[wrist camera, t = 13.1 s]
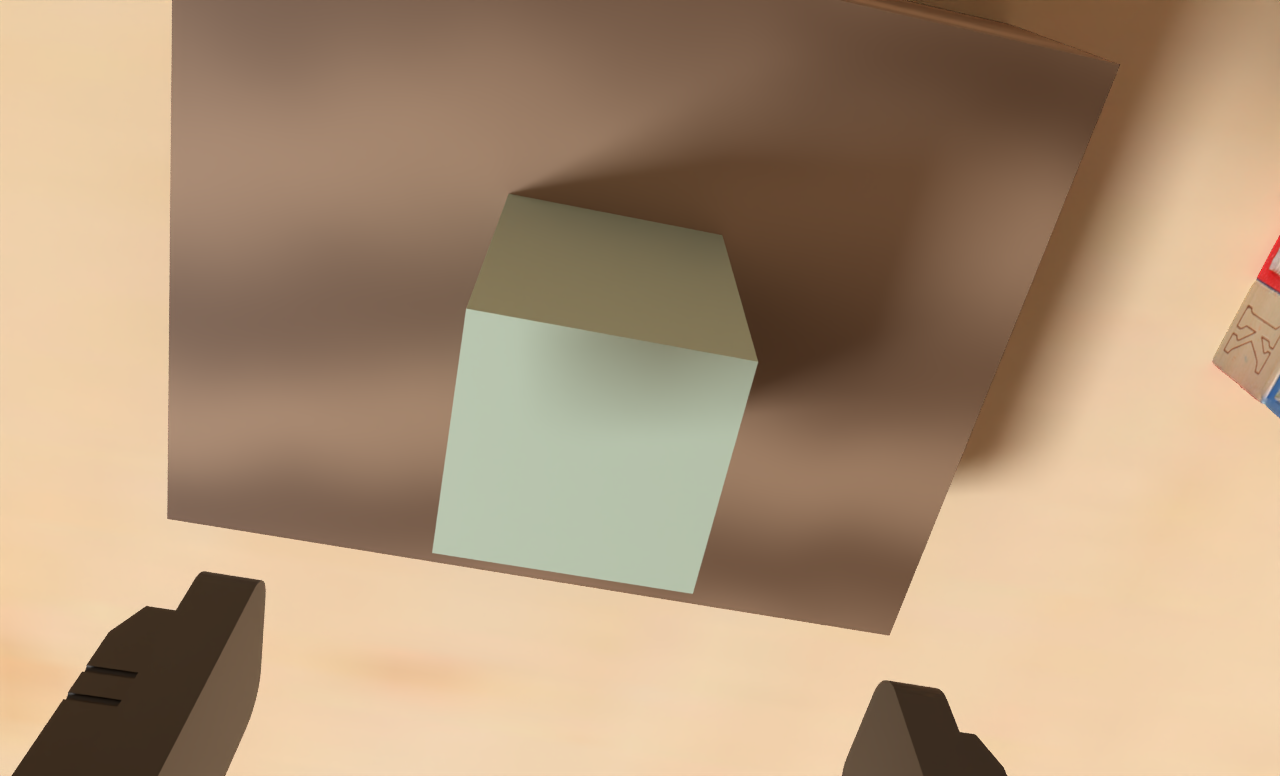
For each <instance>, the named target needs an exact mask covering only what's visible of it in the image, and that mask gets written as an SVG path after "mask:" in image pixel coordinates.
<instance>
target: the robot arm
mask: <svg viewBox="0 0 1280 776" xmlns="http://www.w3.org/2000/svg"><path fill="white" fill-rule="evenodd" d="M265 592H266V591H265V583H264V581H262V580H255V579H249V578H243V577H236V576H230V575H224V574H217V573H211V572H201V573H200V574H199V575H198V576H197V577H196V578H195V580H194V582H193V583H192V585H191V586H190V588H189V590H188V591H187V593H186V595H185V596H184V598H183V600H182V601H181V603H180V605H179V606H178V608H177V610H176V611H175V610H169V609H162V608H155V607H149V606H146V607H144V608H143V609H141V610H140V611H138V612H137V613H136V614H134V615H133V616H131V617H130V618H128V619H127V620H126V621H124V622H123V623H121V624H120V625H118V626H117V627H116V628H114V629H113V630H111V631H110V632H109V633H108V634H107V636H106V637H105V639H104V640H103V642H102V643H101V645H100V646H99V648H98V649H97V651H96V652H95V654H94V655H93V656H92V658H91V659H90V661H89V662H88V664H87V667H86V670H85V672H82V673H81V674H80V676H79V677H78V679H77V680H76V682H75V683H74V684H73V686H72V687H71V689H70V690H69V692H68V696H67V699H66V700H65V699H63V701H62V702H61V704H60V705H59V707H58V708H57V710H56V711H55V713H54V714H53V715H52V717H51V718H50V720H49V721H48V723H47V724H46V726H45V727H44V729H43V730H42V732H41V733H40V735H39V736H38V738H37V739H36V741H35V742H34V743H33V745H32V746H31V748H30V749H29V751H28V752H27V754H26V755H25V757H24V758H23V760H22V761H21V763H20V764H19V766H18V767H17V769H16V770H15V772H14V773H13V774H12V776H225V775H226V772H227V770H228V768H229V766H230V763H231V761H232V759H233V757H234V754H235V752H236V750H237V748H238V745H239V743H240V741H241V738H242V736H243V734H244V732H245V729H246V727H247V725H248V722H249V720H250V717H251V714H252V711H253V707H254V704H255V700H256V696H257V692H258V687H259V681H260V674H261V659H262V643H263V627H264V610H265ZM842 776H1007V774H1006V772H1005V770H1004V767H1003V766H1002V765H1001V764H1000V763H999V762H998V760H997V759H996V758H995V757H994V756H993V754H992V753H991V752H990V751H989V750H988V749H987V747H986V746H985V745H984V744H983V743H982V741H981V740H980V739H979V738H978V737H977V736H976V735H975V734H969V733H962V732H959V729H958V727H957V724H956V722H955V719H954V717H953V714H952V711H951V709H950V706H949V704H948V701H947V699H946V697H945V695H944V693H943V692H942V691H941V690H940V689H937V688H931V687H925V686H919V685H912V684H906V683H900V682H893V681H887V680H885V681H882V682H881V683H880V684H879V685H878V686H877V688H876V689H875V692H874V694H873V696H872V699H871V701H870V703H869V706H868V708H867V711H866V713H865V715H864V718H863V720H862V723H861V725H860V727H859V730H858V732H857V735H856V737H855V739H854V742H853V744H852V747H851V749H850V751H849V754H848V756H847V759H846V762H845V765H844V768H843V774H842Z"/></svg>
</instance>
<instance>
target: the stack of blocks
mask: <svg viewBox="0 0 1280 776" xmlns="http://www.w3.org/2000/svg"><path fill="white" fill-rule="evenodd" d="M1213 363H1214V364H1215V366H1216V367H1218V368H1219V369H1220V370H1221V371H1222V372H1224V373H1225V374H1226V375H1227V376H1229V377H1230V378H1231V379H1232V380H1234V381H1235V382H1236V383H1237V384H1239V385H1240V387H1241V388H1243V389H1244V390H1246V391H1247V392H1248V393H1249V394H1250V395H1251V396H1252V397H1254V398H1255V399H1256V400H1258V401H1260V402H1261V403H1262V404H1265V405H1266V406H1267V407H1268V408H1269V409H1270V410H1271V411H1272V412H1273V413H1274V414H1276V415H1277V416H1278V417H1279V418H1280V236H1279V237H1278V239H1277V241H1276V243H1275V245H1274V247H1273V249H1272V250H1271V252H1270V254H1269V256H1268V258H1267V260H1266V262H1265V264H1264V266H1263V267H1262V269H1261V271H1260V273H1259V275H1258V277H1257V280H1256V281H1255V282H1254V284H1253V285H1252V286H1251V288H1250V290H1249V292H1248V294H1247V296H1246V298H1245V299H1244V301H1243V303H1242V305H1241V307H1240V309H1239V311H1238V312H1237V314H1236V316H1235V318H1234V320H1233V322H1232V324H1231V325H1230V327H1229V329H1228V331H1227V333H1226V335H1225V337H1224V339H1223V340H1222V342H1221V344H1220V346H1219V348H1218V350H1217V352H1216V354H1215V356H1214V358H1213Z"/></svg>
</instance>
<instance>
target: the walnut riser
mask: <svg viewBox="0 0 1280 776" xmlns="http://www.w3.org/2000/svg"><path fill="white" fill-rule="evenodd" d="M1119 66H1120V64H1117V63H1114V62H1112V61H1109V60H1106V59H1103V58H1101V57H1098V56H1095V55H1092V54H1090V53H1087V52H1084V51H1081V50H1079V49H1076V48H1073V47H1070V46H1068V45H1065V44H1062V43H1059V42H1057V41H1054V40H1051V39H1048V38H1046V37H1043V36H1040V35H1037V34H1034V33H1032V32H1029V31H1026V30H1023V29H1021V28H1018V27H1015V26H1012V25H1009V24H1005V23H1001V22H996V21H992V20H988V19H983V18H979V17H975V16H970V15H966V14H962V13H957V12H953V11H949V10H944V9H940V8H936V7H931V6H927V5H923V4H918V3H914V2H910V1H905V0H172V81H171V189H170V297H169V405H168V513H167V519H172V520H178V521H184V522H191V523H197V524H203V525H209V526H215V527H222V528H228V529H234V530H240V531H246V532H252V533H259V534H265V535H271V536H277V537H283V538H290V539H296V540H302V541H308V542H314V543H320V544H327V545H333V546H339V547H345V548H351V549H358V550H364V551H370V552H376V553H382V554H388V555H395V556H401V557H407V558H413V559H419V560H426V561H432V562H438V563H444V564H450V565H457V566H463V567H469V568H475V569H481V570H487V571H494V572H500V573H506V574H512V575H518V576H525V577H531V578H537V579H543V580H549V581H555V582H562V583H568V584H574V585H580V586H586V587H593V588H599V589H605V590H611V591H617V592H624V593H630V594H636V595H642V596H648V597H654V598H661V599H667V600H673V601H679V602H685V603H692V604H698V605H704V606H710V607H716V608H722V609H729V610H735V611H741V612H747V613H753V614H760V615H766V616H772V617H778V618H784V619H791V620H797V621H803V622H809V623H815V624H821V625H828V626H834V627H840V628H846V629H852V630H859V631H865V632H871V633H877V634H883V635H890V633H891V630H892V628H893V625H894V623H895V620H896V618H897V615H898V613H899V610H900V608H901V605H902V603H903V600H904V598H905V596H906V593H907V591H908V588H909V586H910V583H911V581H912V578H913V576H914V573H915V571H916V568H917V566H918V563H919V561H920V558H921V556H922V553H923V551H924V549H925V546H926V544H927V541H928V539H929V536H930V534H931V531H932V529H933V526H934V524H935V521H936V519H937V516H938V514H939V511H940V509H941V506H942V504H943V501H944V499H945V497H946V494H947V492H948V489H949V487H950V484H951V482H952V479H953V477H954V474H955V472H956V469H957V467H958V464H959V462H960V459H961V457H962V454H963V452H964V450H965V447H966V445H967V442H968V440H969V437H970V435H971V432H972V430H973V427H974V425H975V422H976V420H977V417H978V415H979V412H980V410H981V407H982V405H983V403H984V400H985V398H986V395H987V393H988V390H989V388H990V385H991V383H992V380H993V378H994V375H995V373H996V370H997V368H998V365H999V363H1000V360H1001V358H1002V355H1003V353H1004V351H1005V348H1006V346H1007V343H1008V341H1009V338H1010V336H1011V333H1012V331H1013V328H1014V326H1015V323H1016V321H1017V318H1018V316H1019V313H1020V311H1021V308H1022V306H1023V304H1024V301H1025V299H1026V296H1027V294H1028V291H1029V289H1030V286H1031V284H1032V281H1033V279H1034V276H1035V274H1036V271H1037V269H1038V266H1039V264H1040V261H1041V259H1042V257H1043V254H1044V252H1045V249H1046V247H1047V244H1048V242H1049V239H1050V237H1051V234H1052V232H1053V229H1054V227H1055V224H1056V222H1057V219H1058V217H1059V214H1060V212H1061V210H1062V207H1063V205H1064V202H1065V200H1066V197H1067V195H1068V192H1069V190H1070V187H1071V185H1072V182H1073V180H1074V177H1075V175H1076V172H1077V170H1078V167H1079V165H1080V162H1081V160H1082V158H1083V155H1084V153H1085V150H1086V148H1087V145H1088V143H1089V140H1090V138H1091V135H1092V133H1093V130H1094V128H1095V125H1096V123H1097V120H1098V118H1099V115H1100V113H1101V111H1102V108H1103V106H1104V103H1105V101H1106V98H1107V96H1108V93H1109V91H1110V88H1111V86H1112V83H1113V81H1114V78H1115V76H1116V73H1117V71H1118V68H1119ZM508 194H513V195H518V196H523V197H529V198H534V199H539V200H544V201H549V202H554V203H559V204H565V205H570V206H575V207H580V208H585V209H590V210H595V211H601V212H606V213H611V214H616V215H621V216H626V217H631V218H637V219H642V220H647V221H652V222H657V223H662V224H667V225H673V226H678V227H683V228H688V229H693V230H698V231H703V232H709V233H714V234H719V235H722V236H723V239H724V243H725V246H726V250H727V253H728V257H729V260H730V264H731V267H732V271H733V275H734V278H735V282H736V285H737V289H738V292H739V296H740V299H741V303H742V306H743V310H744V313H745V317H746V321H747V324H748V328H749V331H750V335H751V338H752V342H753V345H754V349H755V352H756V356H757V359H758V364H757V368H756V371H755V375H754V378H753V382H752V385H751V389H750V393H749V396H748V400H747V403H746V407H745V410H744V414H743V417H742V421H741V424H740V428H739V432H738V435H737V439H736V442H735V446H734V449H733V453H732V456H731V460H730V464H729V467H728V471H727V474H726V478H725V481H724V485H723V488H722V492H721V495H720V499H719V503H718V506H717V510H716V513H715V517H714V520H713V524H712V527H711V531H710V535H709V538H708V542H707V545H706V549H705V552H704V556H703V559H702V563H701V567H700V570H699V574H698V577H697V581H696V584H695V588H694V591H693V594H691V593H684V592H678V591H671V590H665V589H659V588H652V587H646V586H640V585H633V584H627V583H621V582H614V581H608V580H601V579H595V578H589V577H582V576H576V575H570V574H563V573H557V572H551V571H544V570H538V569H531V568H525V567H519V566H512V565H506V564H500V563H493V562H487V561H480V560H474V559H468V558H461V557H455V556H449V555H442V554H436V553H432V550H433V543H434V536H435V529H436V522H437V514H438V507H439V500H440V493H441V486H442V479H443V471H444V464H445V457H446V450H447V443H448V435H449V428H450V421H451V414H452V407H453V400H454V392H455V385H456V378H457V371H458V364H459V356H460V349H461V342H462V335H463V328H464V321H465V313H466V308H467V305H468V302H469V300H470V297H471V294H472V291H473V289H474V286H475V283H476V281H477V278H478V275H479V273H480V270H481V267H482V264H483V262H484V259H485V256H486V254H487V251H488V248H489V246H490V243H491V240H492V237H493V235H494V232H495V229H496V227H497V224H498V221H499V219H500V216H501V213H502V210H503V208H504V205H505V202H506V200H507V197H508Z"/></svg>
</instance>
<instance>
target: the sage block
mask: <svg viewBox="0 0 1280 776" xmlns="http://www.w3.org/2000/svg"><path fill="white" fill-rule="evenodd" d="M757 364H758V359H757V356H756V352H755V349H754V345H753V342H752V338H751V335H750V331H749V328H748V324H747V321H746V317H745V313H744V310H743V306H742V303H741V299H740V296H739V292H738V289H737V285H736V282H735V278H734V275H733V271H732V267H731V264H730V260H729V257H728V253H727V250H726V246H725V243H724V239H723V236H722V235H719V234H714V233H709V232H703V231H698V230H693V229H688V228H683V227H678V226H673V225H667V224H662V223H657V222H652V221H647V220H642V219H637V218H631V217H626V216H621V215H616V214H611V213H606V212H601V211H595V210H590V209H585V208H580V207H575V206H570V205H565V204H559V203H554V202H549V201H544V200H539V199H534V198H529V197H523V196H518V195H513V194H508V197H507V200H506V202H505V205H504V208H503V210H502V213H501V216H500V219H499V221H498V224H497V227H496V229H495V232H494V235H493V237H492V240H491V243H490V246H489V248H488V251H487V254H486V256H485V259H484V262H483V264H482V267H481V270H480V273H479V275H478V278H477V281H476V283H475V286H474V289H473V291H472V294H471V297H470V300H469V302H468V305H467V308H466V313H465V321H464V328H463V335H462V342H461V349H460V356H459V364H458V371H457V378H456V385H455V392H454V400H453V407H452V414H451V421H450V428H449V435H448V443H447V450H446V457H445V464H444V471H443V479H442V486H441V493H440V500H439V507H438V514H437V522H436V529H435V536H434V543H433V550H432V553H436V554H442V555H449V556H455V557H461V558H468V559H474V560H480V561H487V562H493V563H500V564H506V565H512V566H519V567H525V568H531V569H538V570H544V571H551V572H557V573H563V574H570V575H576V576H582V577H589V578H595V579H601V580H608V581H614V582H621V583H627V584H633V585H640V586H646V587H652V588H659V589H665V590H671V591H678V592H684V593H691V594H693V591H694V588H695V584H696V581H697V577H698V574H699V570H700V567H701V563H702V559H703V556H704V552H705V549H706V545H707V542H708V538H709V535H710V531H711V527H712V524H713V520H714V517H715V513H716V510H717V506H718V503H719V499H720V495H721V492H722V488H723V485H724V481H725V478H726V474H727V471H728V467H729V464H730V460H731V456H732V453H733V449H734V446H735V442H736V439H737V435H738V432H739V428H740V424H741V421H742V417H743V414H744V410H745V407H746V403H747V400H748V396H749V393H750V389H751V385H752V382H753V378H754V375H755V371H756V368H757Z"/></svg>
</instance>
